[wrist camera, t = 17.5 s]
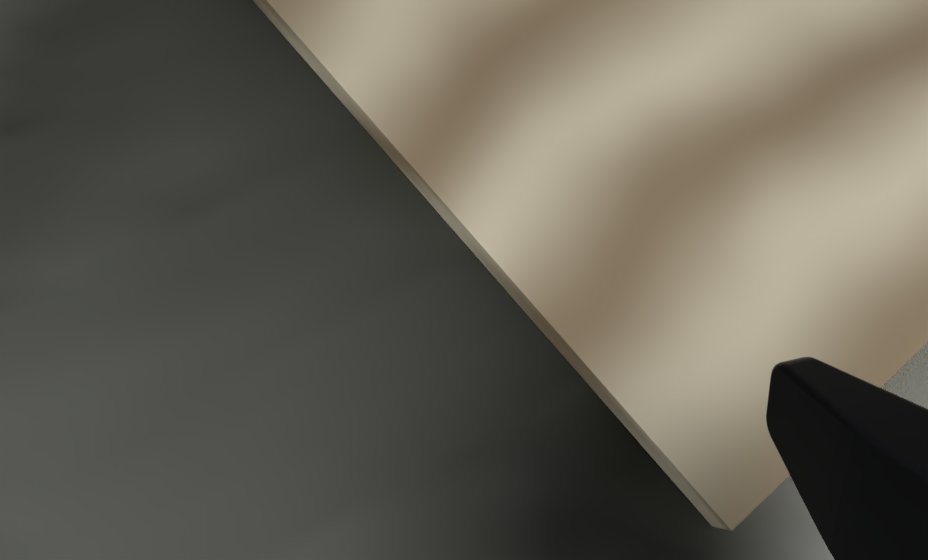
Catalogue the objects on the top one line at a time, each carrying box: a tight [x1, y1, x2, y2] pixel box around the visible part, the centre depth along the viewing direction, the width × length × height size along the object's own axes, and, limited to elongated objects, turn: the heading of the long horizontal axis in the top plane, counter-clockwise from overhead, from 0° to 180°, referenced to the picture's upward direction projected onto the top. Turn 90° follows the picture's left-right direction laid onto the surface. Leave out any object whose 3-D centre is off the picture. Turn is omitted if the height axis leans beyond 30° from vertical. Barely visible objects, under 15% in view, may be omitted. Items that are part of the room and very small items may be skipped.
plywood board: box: [253, 0, 928, 531], centre depth 25 cm, size 26×17×2 cm, turn 40°
